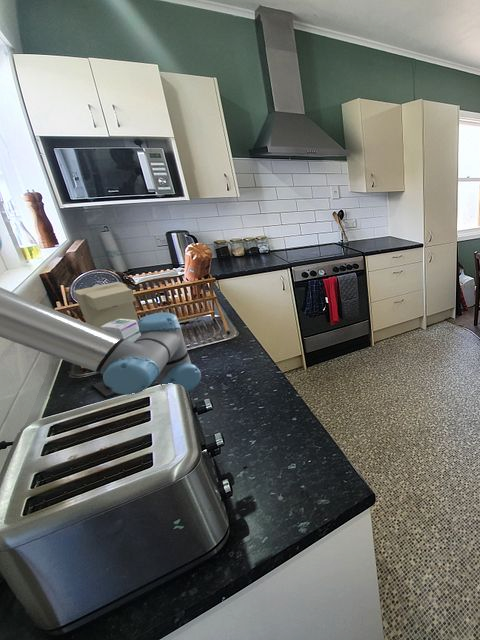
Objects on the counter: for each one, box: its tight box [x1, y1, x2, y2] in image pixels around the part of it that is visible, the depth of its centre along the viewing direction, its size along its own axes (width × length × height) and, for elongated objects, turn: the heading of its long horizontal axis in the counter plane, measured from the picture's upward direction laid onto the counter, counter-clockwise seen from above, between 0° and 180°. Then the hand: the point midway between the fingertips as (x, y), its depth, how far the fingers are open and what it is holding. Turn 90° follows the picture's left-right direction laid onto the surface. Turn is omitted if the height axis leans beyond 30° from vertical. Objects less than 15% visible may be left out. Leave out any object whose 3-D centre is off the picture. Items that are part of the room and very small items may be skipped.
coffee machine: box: [72, 281, 140, 330], centre depth 116 cm, size 12×18×25 cm, turn 58°
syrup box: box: [101, 319, 141, 343], centre depth 99 cm, size 6×6×14 cm
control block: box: [92, 380, 119, 399], centre depth 106 cm, size 10×10×3 cm
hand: (119, 338), depth 101 cm, fingers closed on syrup box, 7 cm apart
